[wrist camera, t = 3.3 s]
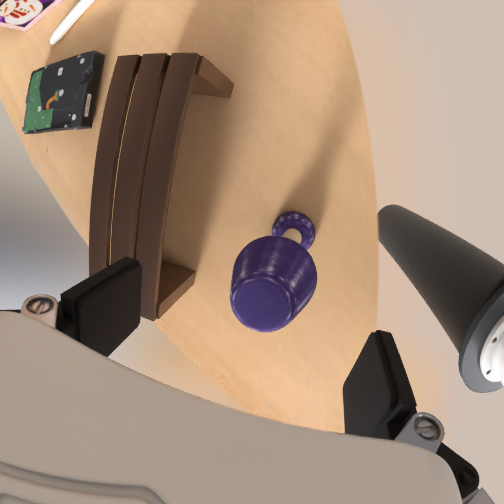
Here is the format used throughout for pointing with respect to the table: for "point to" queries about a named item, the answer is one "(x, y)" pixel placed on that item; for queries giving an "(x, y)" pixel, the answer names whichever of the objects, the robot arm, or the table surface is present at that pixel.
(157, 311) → the bench
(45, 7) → the greeting card
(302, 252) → the toy lamp
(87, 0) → the marker
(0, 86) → the table surface
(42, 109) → the disk drive
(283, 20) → the table surface
